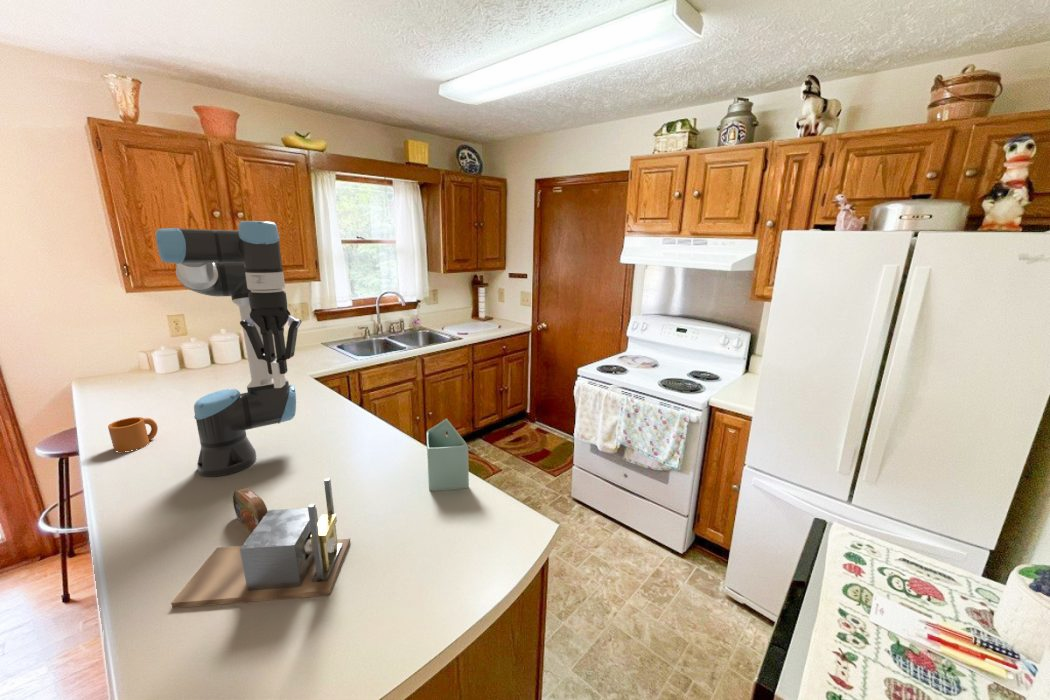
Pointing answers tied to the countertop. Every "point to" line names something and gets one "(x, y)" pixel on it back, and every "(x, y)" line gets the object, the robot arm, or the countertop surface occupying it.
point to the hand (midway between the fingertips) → (280, 386)
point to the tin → (249, 508)
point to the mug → (131, 433)
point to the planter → (447, 458)
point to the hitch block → (286, 548)
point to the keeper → (326, 536)
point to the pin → (309, 547)
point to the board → (228, 585)
